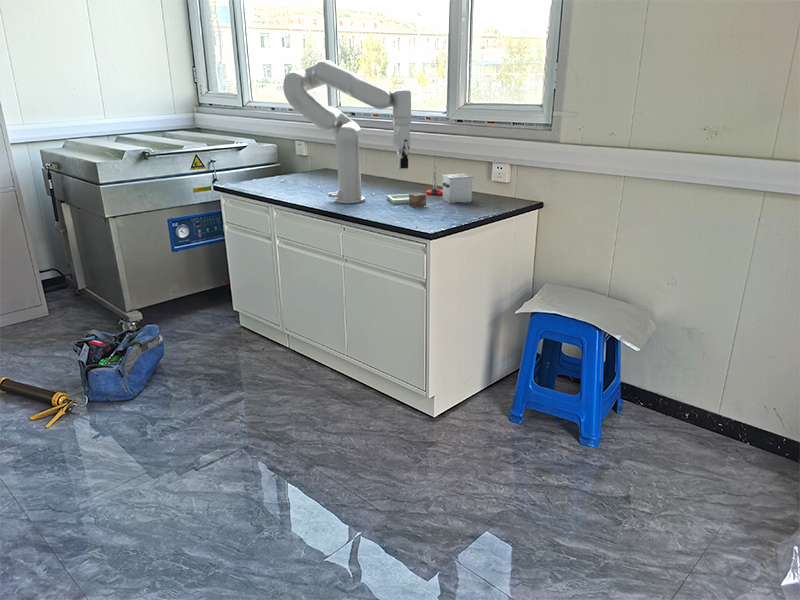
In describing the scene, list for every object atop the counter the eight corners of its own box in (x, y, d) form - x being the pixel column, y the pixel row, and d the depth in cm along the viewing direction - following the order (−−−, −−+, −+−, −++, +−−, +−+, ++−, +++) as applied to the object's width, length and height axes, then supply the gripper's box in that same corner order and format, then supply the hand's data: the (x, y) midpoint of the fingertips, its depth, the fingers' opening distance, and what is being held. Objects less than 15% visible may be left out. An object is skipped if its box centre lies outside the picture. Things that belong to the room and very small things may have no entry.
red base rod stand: (427, 192, 268) (425, 195, 260) (427, 163, 264) (425, 165, 255) (445, 192, 267) (443, 195, 258) (446, 163, 263) (444, 165, 254)
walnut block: (415, 208, 235) (415, 196, 233) (409, 206, 239) (409, 194, 237) (426, 206, 237) (426, 194, 236) (419, 204, 241) (419, 192, 240)
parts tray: (393, 204, 241) (393, 200, 241) (386, 199, 251) (386, 195, 250) (418, 202, 244) (418, 198, 243) (411, 197, 254) (411, 193, 253)
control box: (448, 203, 242) (448, 178, 238) (441, 199, 250) (441, 174, 246) (472, 201, 244) (473, 176, 241) (464, 197, 252) (465, 173, 248)
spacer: (399, 169, 240) (398, 152, 238) (396, 168, 244) (395, 151, 241) (409, 169, 241) (409, 151, 239) (406, 167, 245) (406, 150, 243)
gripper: (387, 120, 242) (388, 164, 249) (398, 123, 227) (399, 170, 234) (404, 119, 244) (405, 163, 251) (417, 122, 229) (417, 169, 236)
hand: (402, 166), depth 242 cm, fingers closed on spacer, 4 cm apart
